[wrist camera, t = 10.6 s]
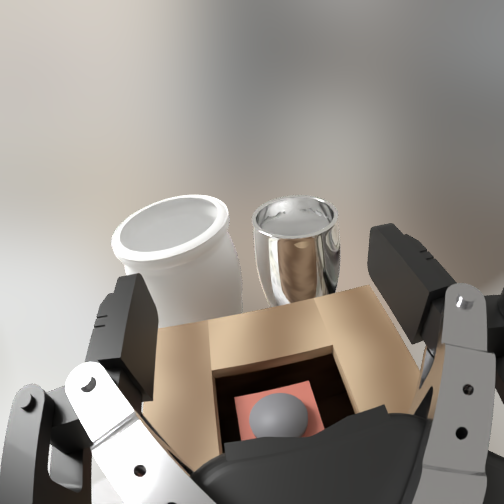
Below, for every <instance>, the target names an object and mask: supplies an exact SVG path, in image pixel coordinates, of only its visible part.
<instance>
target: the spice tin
mask: <svg viewBox="0 0 504 504" xmlns="http://www.w3.org/2000/svg"><path fill="white" fill-rule="evenodd" d="M234 398H235V404H236V411H237V417H238V424H239V430H240V436H241V441H242V440H248V439H254V438H260V437H309V436H312V435H315V434H316V433H318V432H320V431H322V430H324V426H323V423H322V420H321V417H320V414H319V411H318V407H317V404H316V401H315V398H314V395H313V392H312V389H311V386H310V383H309V381H305V382H302V383H298V384H294V385H290V386H285V387H281V388H277V389H273V390H268V391H264V392H259V393H254V394H249V395H244V396H239V397H234Z"/></svg>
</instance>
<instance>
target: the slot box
mask: <svg viewBox="0 0 504 504" xmlns="http://www.w3.org/2000/svg"><path fill="white" fill-rule="evenodd" d="M419 375H420V370H419V368H418V366H417V365H416V363H415V361H414V359H413V358H412V356H411V354H410V352H409V350H408V349H407V347H406V345H405V343H404V342H403V340H402V338H401V336H400V335H399V333H398V331H397V330H396V328H395V326H394V324H393V323H392V321H391V319H390V318H389V316H388V314H387V313H386V311H385V309H384V308H383V306H382V305H381V303H380V301H379V300H378V298H377V296H376V295H375V293H374V292H373V290H372V288H371V287H370V285H365V286H361V287H358V288H354V289H349V290H345V291H342V292H338V293H333V294H329V295H325V296H320V297H316V298H312V299H307V300H303V301H298V302H294V303H289V304H285V305H280V306H275V307H271V308H266V309H261V310H256V311H252V312H246V313H241V314H236V315H231V316H226V317H221V318H215V319H210V320H204V321H199V322H193V323H187V324H181V325H176V326H170V327H163V328H158V335H157V347H156V360H155V375H154V393H153V401H148V402H144V406H143V415H144V416H145V417H146V418H147V419H148V421H149V422H150V423H151V424H152V426H153V427H154V428H155V429H156V430H157V431H158V433H159V434H160V435H161V436H162V437H163V438H164V440H165V441H166V442H167V443H168V444H169V445H170V446H171V447H172V449H173V450H174V451H175V452H176V453H177V454H178V455H179V456H180V457H181V458H182V459H183V460H184V461H185V462H186V463H187V464H188V465H189V466H190V467H191V468H192V469H193V470H194V471H196V470H197V469H198V468H199V467H201V466H202V465H203V464H204V463H206V462H207V461H209V460H211V459H212V458H214V457H216V456H218V455H220V454H223V453H225V447H224V443H229V442H236V441H241V436H240V430H239V424H238V417H237V411H236V404H235V398H234V397H239V396H244V395H249V394H254V393H259V392H264V391H268V390H273V389H277V388H281V387H285V386H290V385H294V384H298V383H302V382H305V381H309V383H310V386H311V389H312V392H313V395H314V398H315V401H316V404H317V407H318V411H319V414H320V417H321V420H322V423H323V426H324V429H326V428H328V427H330V426H331V425H333V424H335V423H337V422H339V421H340V420H342V419H344V418H346V417H347V416H350V415H353V414H357V413H360V412H363V411H366V410H369V409H372V408H375V407H378V406H380V405H383V404H385V407H386V409H387V411H388V413H406V414H408V412H409V409H410V407H411V404H412V402H413V399H414V396H415V392H416V388H417V384H418V379H419Z"/></svg>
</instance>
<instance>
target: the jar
mask: <svg viewBox="0 0 504 504" xmlns="http://www.w3.org/2000/svg"><path fill="white" fill-rule="evenodd" d="M229 221H230V217H229V213H228V209H227V207H226V205H225V204H224V203H223V202H222V201H220V200H219V199H216V198H214V197H210V196H205V195H184V196H176V197H171V198H167V199H164V200H161V201H158V202H155V203H152V204H150V205H148V206H146V207H143V208H141V209H140V210H138V211H136V212H135V213H133V214H132V215H130V216H129V217H127V218H126V219H125V220H124V221H123V222H122V223H121V224H120V225H119V226H118V227H117V229H116V230H115V232H114V233H113V236H112V239H111V246H112V249H113V251H114V254H115V256H116V257H117V259H118V260H119V261H120V262H122V263H123V264H124V265H125V271H126V275H131V274H136V273H140V274H141V275H142V277H143V279H144V281H145V283H146V285H147V288H148V290H149V292H150V294H151V297H152V299H153V301H154V303H155V305H156V308H157V312H158V319H159V324H158V328H163V327H170V326H176V325H181V324H187V323H193V322H199V321H204V320H210V319H215V318H221V317H226V316H231V315H236V314H241V313H242V310H243V309H242V308H243V303H242V275H241V268H240V263H239V259H238V255H237V252H236V249H235V246H234V244H233V241H232V239H231V237H230V235H229V233H228V231H227V230H228V227H229V223H230V222H229Z"/></svg>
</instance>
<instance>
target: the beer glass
mask: <svg viewBox="0 0 504 504" xmlns="http://www.w3.org/2000/svg"><path fill="white" fill-rule="evenodd" d="M252 225H253V240H254V252H255V260H256V267H257V271H258V276H259V280H260V283H261V286H262V289H263V292H264V295H265V297H266V300H267V302H268V304H269V307H270V308H271V307H275V306H280V305H285V304H289V303H294V302H298V301H303V300H307V299H312V298H316V297H320V296H325V295H329V294H333V293H335V291H336V287H337V283H338V277H339V271H340V235H339V225H338V211H337V209H336V208H335V206H333V204H331V203H330V202H328V201H326V200H324V199H322V198H318V197H314V196H307V195H292V196H285V197H280V198H276V199H273V200H271V201H268V202H266V203H264V204H263V205H261V206H260V207H259V208H258V209H257V210H255V212H254V214H253V215H252Z"/></svg>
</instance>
